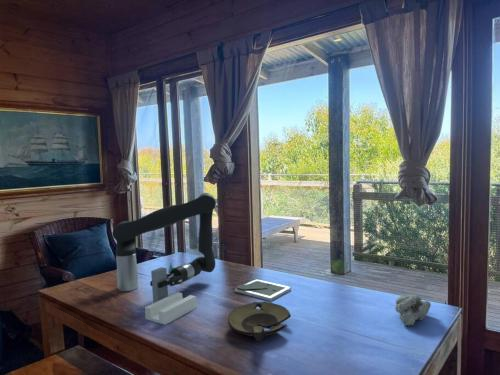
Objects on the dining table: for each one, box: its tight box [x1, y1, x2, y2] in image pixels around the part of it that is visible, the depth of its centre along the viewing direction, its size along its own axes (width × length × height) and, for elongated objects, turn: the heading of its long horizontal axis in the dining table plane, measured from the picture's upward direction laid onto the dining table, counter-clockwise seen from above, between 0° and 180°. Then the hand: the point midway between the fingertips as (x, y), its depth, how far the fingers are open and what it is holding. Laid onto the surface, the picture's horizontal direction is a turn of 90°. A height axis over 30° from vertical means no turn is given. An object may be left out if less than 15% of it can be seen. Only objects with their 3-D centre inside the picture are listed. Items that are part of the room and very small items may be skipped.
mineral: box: [394, 294, 431, 326], centre depth 134 cm, size 12×17×10 cm
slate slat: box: [150, 267, 169, 304], centre depth 159 cm, size 3×6×15 cm, turn 147°
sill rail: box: [144, 291, 198, 326], centre depth 148 cm, size 11×18×5 cm, turn 147°
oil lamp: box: [227, 300, 292, 342], centre depth 129 cm, size 22×30×8 cm
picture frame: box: [234, 278, 292, 302], centre depth 169 cm, size 16×3×21 cm
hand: (154, 284), depth 157 cm, fingers open, 4 cm apart
